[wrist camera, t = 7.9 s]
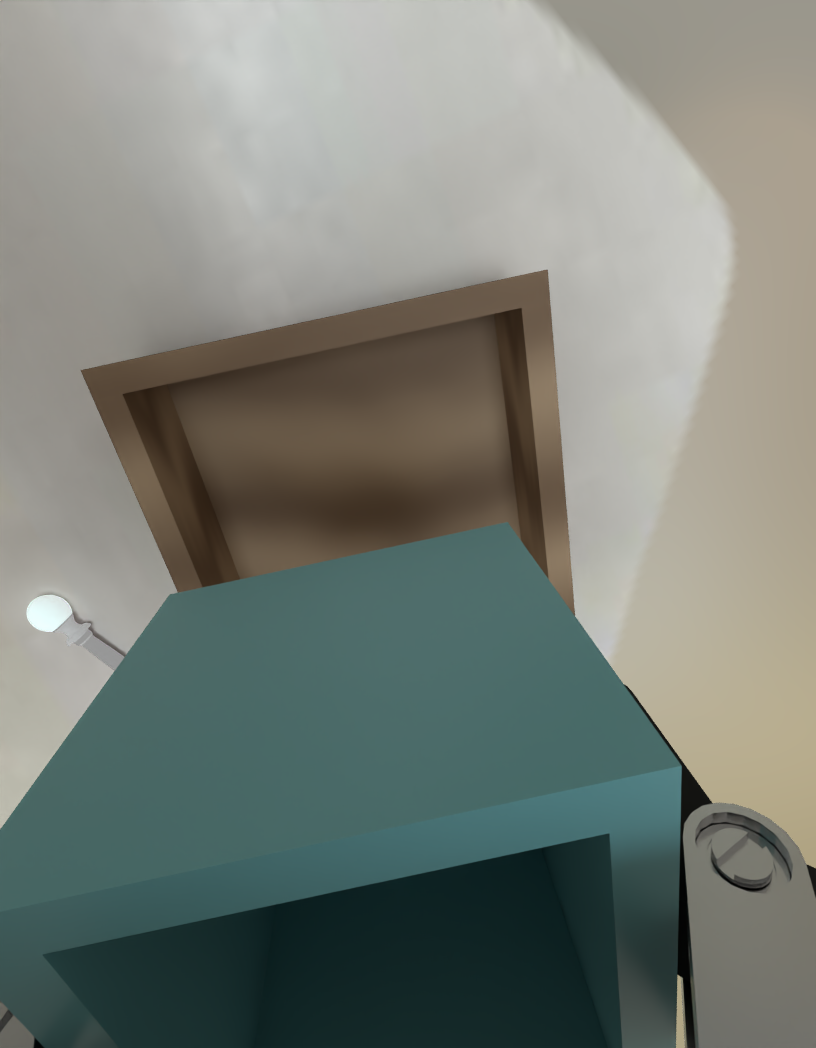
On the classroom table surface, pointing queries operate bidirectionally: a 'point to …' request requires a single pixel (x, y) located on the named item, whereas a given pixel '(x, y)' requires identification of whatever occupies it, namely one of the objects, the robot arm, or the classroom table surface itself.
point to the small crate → (353, 824)
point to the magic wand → (69, 627)
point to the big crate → (348, 435)
